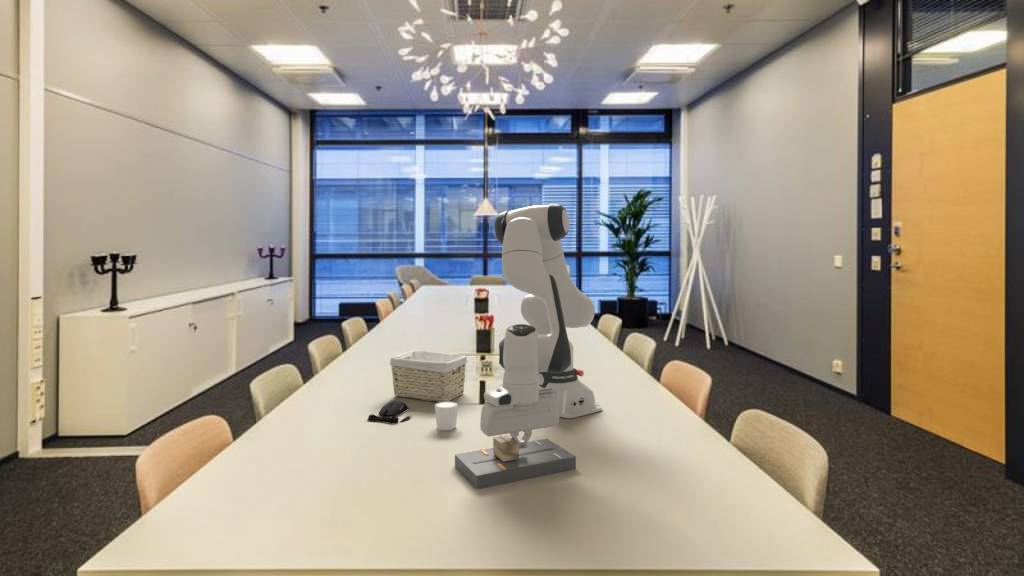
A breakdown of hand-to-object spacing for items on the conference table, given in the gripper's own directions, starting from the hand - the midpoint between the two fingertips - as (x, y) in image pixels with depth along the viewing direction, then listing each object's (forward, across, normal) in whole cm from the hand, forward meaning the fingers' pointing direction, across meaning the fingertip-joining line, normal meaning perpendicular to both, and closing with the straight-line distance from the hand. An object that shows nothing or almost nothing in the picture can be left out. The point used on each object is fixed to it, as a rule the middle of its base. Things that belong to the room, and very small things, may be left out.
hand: (520, 447), depth 135 cm
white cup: (+5, +6, -36) cm, 37 cm away
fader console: (+5, +1, 0) cm, 5 cm away
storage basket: (+5, 0, -73) cm, 73 cm away
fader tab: (+1, +4, 0) cm, 4 cm away
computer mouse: (+6, +16, -55) cm, 57 cm away
